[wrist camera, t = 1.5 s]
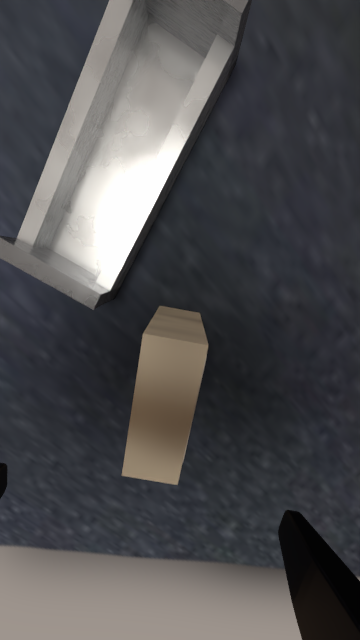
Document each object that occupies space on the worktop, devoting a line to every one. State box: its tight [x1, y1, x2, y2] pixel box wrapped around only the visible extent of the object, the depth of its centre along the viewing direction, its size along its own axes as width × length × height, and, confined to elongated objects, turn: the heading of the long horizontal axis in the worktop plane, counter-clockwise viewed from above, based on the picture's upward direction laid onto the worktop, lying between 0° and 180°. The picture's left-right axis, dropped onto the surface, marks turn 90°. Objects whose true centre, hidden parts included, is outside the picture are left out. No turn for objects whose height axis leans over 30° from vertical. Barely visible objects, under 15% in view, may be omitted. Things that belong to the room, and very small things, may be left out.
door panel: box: [122, 306, 209, 485], centre depth 15 cm, size 8×3×7 cm, turn 170°
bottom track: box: [0, 0, 252, 309], centre depth 13 cm, size 16×6×4 cm, turn 150°
